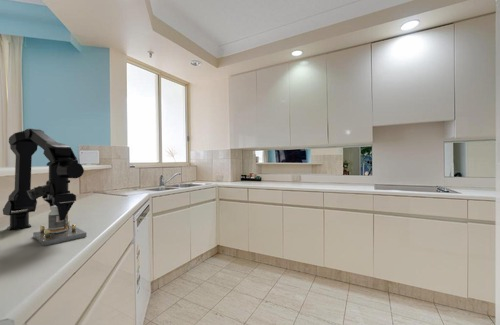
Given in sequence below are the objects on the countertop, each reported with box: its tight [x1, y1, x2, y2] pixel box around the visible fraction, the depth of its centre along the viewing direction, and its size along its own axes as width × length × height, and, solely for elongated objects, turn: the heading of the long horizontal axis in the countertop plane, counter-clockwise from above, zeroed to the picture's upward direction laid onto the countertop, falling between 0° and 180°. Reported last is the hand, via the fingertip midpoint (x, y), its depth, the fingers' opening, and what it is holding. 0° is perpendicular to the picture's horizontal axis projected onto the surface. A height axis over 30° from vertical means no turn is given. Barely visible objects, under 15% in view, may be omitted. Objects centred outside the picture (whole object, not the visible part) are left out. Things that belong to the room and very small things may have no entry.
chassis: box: [32, 220, 87, 247], centre depth 83 cm, size 16×12×4 cm
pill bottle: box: [47, 205, 69, 233], centre depth 84 cm, size 6×6×10 cm
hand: (58, 218), depth 84 cm, fingers open, 9 cm apart
